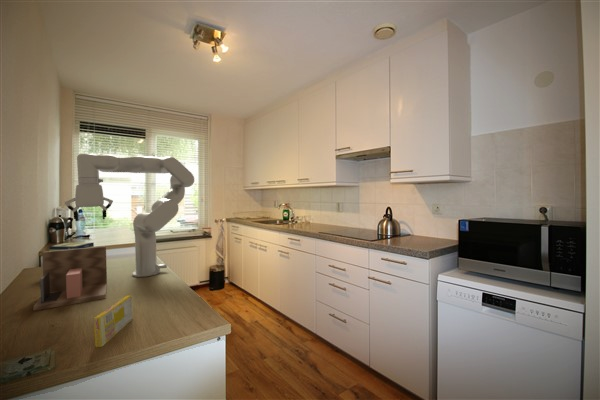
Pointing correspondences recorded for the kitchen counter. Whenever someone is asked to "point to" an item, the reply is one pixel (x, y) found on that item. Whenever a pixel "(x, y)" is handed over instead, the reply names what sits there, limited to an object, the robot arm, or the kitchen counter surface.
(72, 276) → the book
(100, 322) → the candy box
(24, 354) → the kitchen counter surface
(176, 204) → the robot arm
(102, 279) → the shelf
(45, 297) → the bookend
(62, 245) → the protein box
